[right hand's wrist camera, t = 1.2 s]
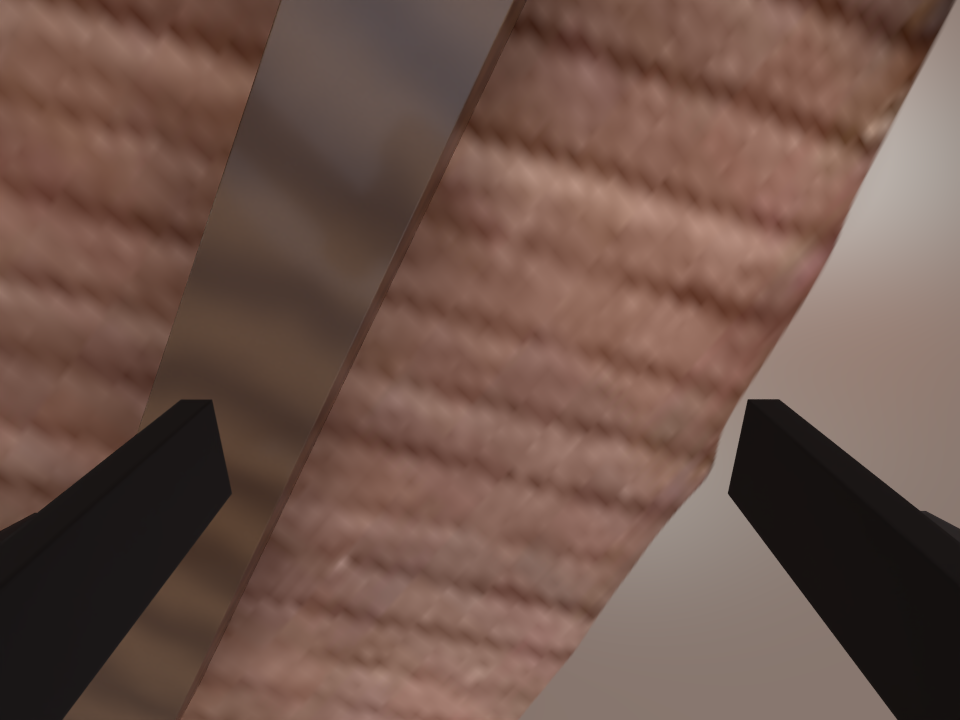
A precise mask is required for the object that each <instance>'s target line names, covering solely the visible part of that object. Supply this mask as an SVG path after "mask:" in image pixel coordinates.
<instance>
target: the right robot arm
mask: <svg viewBox="0 0 960 720" xmlns="http://www.w3.org/2000/svg"><path fill="white" fill-rule="evenodd" d="M231 494H232V491H231V486H230V481H229V476H228V472H227V467H226V462H225V458H224V453H223V448H222V443H221V439H220V434H219V429H218V425H217V420H216V415H215V410H214V406H213V401H212V399H181V400H180V401H178V402H177V403H176V404H175V405H173V406H172V407H171V408H169V409H168V410H167V411H166V412H164V413H163V414H162V415H161V416H159V417H158V418H157V419H156V420H154V421H153V422H152V423H150V424H149V425H148V426H147V427H145V428H144V429H143V430H142V431H140V432H139V433H138V434H137V435H135V436H134V437H133V438H132V439H130V440H129V441H128V442H126V443H125V444H124V445H123V446H121V447H120V448H119V449H118V450H116V451H115V452H114V453H113V454H111V455H110V456H109V457H108V458H106V459H105V460H104V461H102V462H101V463H100V464H99V465H97V466H96V467H95V468H94V469H92V470H91V471H90V472H89V473H87V474H86V475H85V476H83V477H82V478H81V479H80V480H78V481H77V482H76V483H75V484H73V485H72V486H71V487H70V488H68V489H67V490H66V491H65V492H63V493H62V494H61V495H59V496H58V497H57V498H56V499H54V500H53V501H52V502H51V503H49V504H48V505H47V506H46V507H44V508H43V509H42V510H40V511H39V512H38V513H34V514H32V515H30V516H28V517H26V518H24V519H22V520H20V521H19V522H17V523H15V524H13V525H11V526H9V527H7V528H5V529H3V530H1V531H0V720H63V718H64V717H65V716H66V714H67V713H68V712H69V710H70V709H71V708H72V706H73V705H74V704H75V702H76V701H77V700H78V698H79V697H80V696H81V694H82V693H83V692H84V690H85V689H86V688H87V686H88V685H89V684H90V682H91V681H92V680H93V678H94V677H95V676H96V674H97V673H98V672H99V670H100V669H101V668H102V666H103V665H104V664H105V662H106V661H107V660H108V658H109V657H110V656H111V654H112V653H113V652H114V650H115V649H116V648H117V646H118V645H119V644H120V642H121V641H122V640H123V638H124V637H125V636H126V634H127V633H128V632H129V630H130V629H131V628H132V626H133V625H134V624H135V622H136V621H137V620H138V618H139V617H140V616H141V614H142V613H143V612H144V610H145V609H146V608H147V606H148V605H149V604H150V602H151V601H152V600H153V598H154V597H155V596H156V594H157V593H158V592H159V590H160V589H161V588H162V586H163V585H164V584H165V582H166V581H167V580H168V578H169V577H170V576H171V574H172V573H173V572H174V570H175V569H176V568H177V566H178V565H179V564H180V562H181V561H182V560H183V558H184V557H185V556H186V554H187V553H188V552H189V550H190V549H191V548H192V546H193V545H194V544H195V542H196V541H197V540H198V538H199V537H200V536H201V534H202V533H203V532H204V530H205V529H206V528H207V526H208V525H209V524H210V522H211V521H212V520H213V518H214V517H215V516H216V514H217V513H218V512H219V510H220V509H221V508H222V506H223V505H224V504H225V502H226V501H227V500H228V498H229V497H230V496H231ZM728 494H729V496H730V497H731V498H732V500H733V501H734V502H735V504H736V505H737V506H738V508H739V509H740V510H741V512H742V513H743V514H744V516H745V517H746V518H747V520H748V521H749V522H750V524H751V525H752V526H753V528H754V529H755V530H756V532H757V533H758V534H759V536H760V537H761V538H762V540H763V541H764V542H765V544H766V545H767V546H768V548H769V549H770V550H771V552H772V553H773V554H774V556H775V557H776V558H777V560H778V561H779V562H780V564H781V565H782V566H783V568H784V569H785V570H786V572H787V573H788V574H789V576H790V577H791V578H792V580H793V581H794V582H795V584H796V585H797V586H798V588H799V589H800V590H801V592H802V593H803V594H804V596H805V597H806V598H807V600H808V601H809V602H810V604H811V605H812V606H813V608H814V609H815V610H816V612H817V613H818V614H819V616H820V617H821V618H822V620H823V621H824V622H825V624H826V625H827V626H828V628H829V629H830V630H831V632H832V633H833V634H834V636H835V637H836V638H837V640H838V641H839V642H840V644H841V645H842V646H843V648H844V649H845V650H846V652H847V653H848V654H849V656H850V657H851V658H852V660H853V661H854V662H855V664H856V665H857V666H858V668H859V669H860V670H861V672H862V673H863V674H864V676H865V677H866V678H867V680H868V681H869V682H870V684H871V685H872V686H873V688H874V689H875V690H876V692H877V693H878V694H879V696H880V697H881V698H882V700H883V701H884V702H885V704H886V705H887V706H888V708H889V709H890V710H891V712H892V713H893V714H894V716H895V717H896V718H897V720H960V529H959V528H957V527H955V526H953V525H951V524H950V523H948V522H946V521H944V520H942V519H940V518H938V517H936V516H934V515H932V514H930V513H929V512H927V511H920V510H918V509H917V508H916V507H914V506H913V505H912V504H910V503H909V502H908V501H907V500H906V499H904V498H903V497H902V496H901V495H899V494H898V493H897V492H895V491H894V490H893V489H892V488H890V487H889V486H888V485H887V484H885V483H884V482H883V481H881V480H880V479H879V478H878V477H877V476H875V475H874V474H873V473H871V472H870V471H869V470H868V469H866V468H865V467H864V466H862V465H861V464H860V463H859V462H858V461H856V460H855V459H854V458H852V457H851V456H850V455H849V454H847V453H846V452H845V451H844V450H842V449H841V448H840V447H839V446H837V445H836V444H835V443H834V442H832V441H831V440H830V439H828V438H827V437H826V436H825V435H823V434H822V433H821V432H820V431H818V430H817V429H816V428H815V427H813V426H812V425H811V424H809V423H808V422H807V421H806V420H804V419H803V418H802V417H801V416H799V415H798V414H797V413H795V412H794V411H793V410H792V409H791V408H789V407H788V406H787V405H785V404H784V403H783V402H782V401H780V400H779V399H748V401H747V406H746V410H745V415H744V420H743V425H742V429H741V434H740V439H739V443H738V448H737V453H736V458H735V462H734V467H733V472H732V476H731V481H730V486H729V491H728Z"/></svg>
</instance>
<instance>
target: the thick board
mask: <svg viewBox="0 0 960 720" xmlns="http://www.w3.org/2000/svg"><path fill="white" fill-rule="evenodd" d="M525 2H526V0H281V1H280V4H279V7H278V10H277V13H276V16H275V19H274V22H273V25H272V28H271V31H270V34H269V37H268V40H267V43H266V46H265V49H264V52H263V55H262V58H261V61H260V64H259V67H258V70H257V73H256V76H255V80H254V83H253V86H252V89H251V92H250V95H249V98H248V101H247V104H246V107H245V110H244V113H243V116H242V119H241V122H240V125H239V128H238V131H237V134H236V137H235V140H234V143H233V146H232V149H231V152H230V155H229V158H228V161H227V164H226V167H225V170H224V173H223V176H222V179H221V182H220V185H219V188H218V191H217V194H216V197H215V200H214V203H213V206H212V209H211V212H210V215H209V218H208V221H207V224H206V227H205V230H204V233H203V236H202V239H201V242H200V245H199V249H198V252H197V255H196V258H195V261H194V264H193V267H192V270H191V273H190V276H189V279H188V282H187V285H186V288H185V291H184V294H183V297H182V300H181V303H180V306H179V309H178V312H177V315H176V318H175V321H174V324H173V327H172V330H171V333H170V336H169V339H168V342H167V345H166V348H165V351H164V354H163V357H162V360H161V363H160V366H159V369H158V372H157V375H156V378H155V381H154V384H153V387H152V390H151V393H150V396H149V399H148V402H147V405H146V408H145V411H144V414H143V418H142V421H141V424H140V427H139V430H138V433H139V432H140V431H142V430H143V429H144V428H145V427H147V426H148V425H149V424H150V423H152V422H153V421H154V420H156V419H157V418H158V417H159V416H161V415H162V414H163V413H164V412H166V411H167V410H168V409H169V408H171V407H172V406H173V405H175V404H176V403H177V402H178V401H180V400H181V399H212V401H213V406H214V410H215V415H216V420H217V425H218V429H219V434H220V439H221V443H222V448H223V453H224V458H225V462H226V467H227V472H228V476H229V481H230V486H231V491H232V494H231V496H230V497H229V498H228V500H227V501H226V502H225V504H224V505H223V506H222V508H221V509H220V510H219V512H218V513H217V514H216V516H215V517H214V518H213V520H212V521H211V522H210V524H209V525H208V526H207V528H206V529H205V530H204V532H203V533H202V534H201V536H200V537H199V538H198V540H197V541H196V542H195V544H194V545H193V546H192V548H191V549H190V550H189V552H188V553H187V554H186V556H185V557H184V558H183V560H182V561H181V562H180V564H179V565H178V566H177V568H176V569H175V570H174V572H173V573H172V574H171V576H170V577H169V578H168V580H167V581H166V582H165V584H164V585H163V586H162V588H161V589H160V590H159V592H158V593H157V594H156V596H155V597H154V598H153V600H152V601H151V602H150V604H149V605H148V606H147V608H146V609H145V610H144V612H143V613H142V614H141V616H140V617H139V618H138V620H137V621H136V622H135V624H134V625H133V626H132V628H131V629H130V630H129V632H128V633H127V634H126V636H125V637H124V638H123V640H122V641H121V642H120V644H119V645H118V646H117V648H116V649H115V650H114V652H113V653H112V654H111V656H110V657H109V658H108V660H107V661H106V662H105V664H104V665H103V666H102V668H101V669H100V670H99V672H98V673H97V674H96V676H95V677H94V678H93V680H92V681H91V682H90V684H89V685H88V686H87V688H86V689H85V690H84V692H83V693H82V694H81V696H80V697H79V698H78V700H77V701H76V702H75V704H74V705H73V706H72V708H71V709H70V710H69V712H68V713H67V714H66V716H65V717H64V718H63V720H180V719H181V717H182V715H183V713H184V712H185V710H186V708H187V706H188V704H189V702H190V701H191V699H192V697H193V695H194V693H195V691H196V690H197V688H198V686H199V684H200V682H201V680H202V678H203V676H204V673H205V671H206V669H207V667H208V665H209V663H210V661H211V659H212V657H213V655H214V653H215V651H216V648H217V646H218V644H219V642H220V640H221V638H222V636H223V634H224V632H225V630H226V628H227V625H228V623H229V621H230V619H231V617H232V615H233V613H234V611H235V609H236V607H237V605H238V602H239V600H240V598H241V596H242V594H243V592H244V590H245V588H246V586H247V584H248V582H249V579H250V577H251V575H252V573H253V571H254V569H255V567H256V565H257V563H258V561H259V559H260V556H261V554H262V552H263V550H264V548H265V546H266V544H267V542H268V540H269V538H270V536H271V533H272V531H273V529H274V527H275V525H276V523H277V521H278V519H279V517H280V515H281V513H282V510H283V508H284V506H285V504H286V502H287V500H288V498H289V496H290V494H291V492H292V490H293V487H294V485H295V483H296V481H297V479H298V477H299V475H300V473H301V471H302V469H303V467H304V464H305V462H306V460H307V458H308V456H309V454H310V452H311V450H312V448H313V446H314V444H315V441H316V439H317V437H318V435H319V433H320V431H321V429H322V427H323V425H324V423H325V421H326V418H327V416H328V414H329V412H330V410H331V408H332V406H333V404H334V402H335V400H336V398H337V395H338V393H339V391H340V389H341V387H342V385H343V383H344V381H345V379H346V377H347V375H348V372H349V370H350V368H351V366H352V364H353V362H354V360H355V358H356V356H357V354H358V352H359V349H360V347H361V345H362V343H363V341H364V339H365V337H366V335H367V333H368V331H369V329H370V326H371V324H372V322H373V320H374V318H375V316H376V314H377V312H378V310H379V308H380V306H381V303H382V301H383V299H384V297H385V295H386V293H387V291H388V289H389V287H390V285H391V283H392V281H393V278H394V276H395V274H396V272H397V270H398V268H399V266H400V264H401V262H402V260H403V258H404V255H405V253H406V251H407V249H408V247H409V245H410V243H411V241H412V239H413V237H414V235H415V232H416V230H417V228H418V226H419V224H420V222H421V220H422V218H423V216H424V214H425V212H426V209H427V207H428V205H429V203H430V201H431V199H432V197H433V195H434V193H435V191H436V189H437V186H438V184H439V182H440V180H441V178H442V176H443V174H444V172H445V170H446V168H447V166H448V163H449V161H450V159H451V157H452V155H453V153H454V151H455V149H456V147H457V145H458V143H459V140H460V138H461V136H462V134H463V132H464V130H465V128H466V126H467V124H468V122H469V120H470V117H471V115H472V113H473V111H474V109H475V107H476V105H477V103H478V101H479V99H480V97H481V94H482V92H483V90H484V88H485V86H486V84H487V82H488V80H489V78H490V76H491V74H492V71H493V69H494V67H495V65H496V63H497V61H498V59H499V57H500V55H501V53H502V51H503V48H504V46H505V44H506V42H507V40H508V38H509V36H510V34H511V32H512V30H513V28H514V25H515V23H516V21H517V19H518V17H519V15H520V13H521V11H522V9H523V7H524V5H525ZM138 433H137V434H138Z"/></svg>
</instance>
